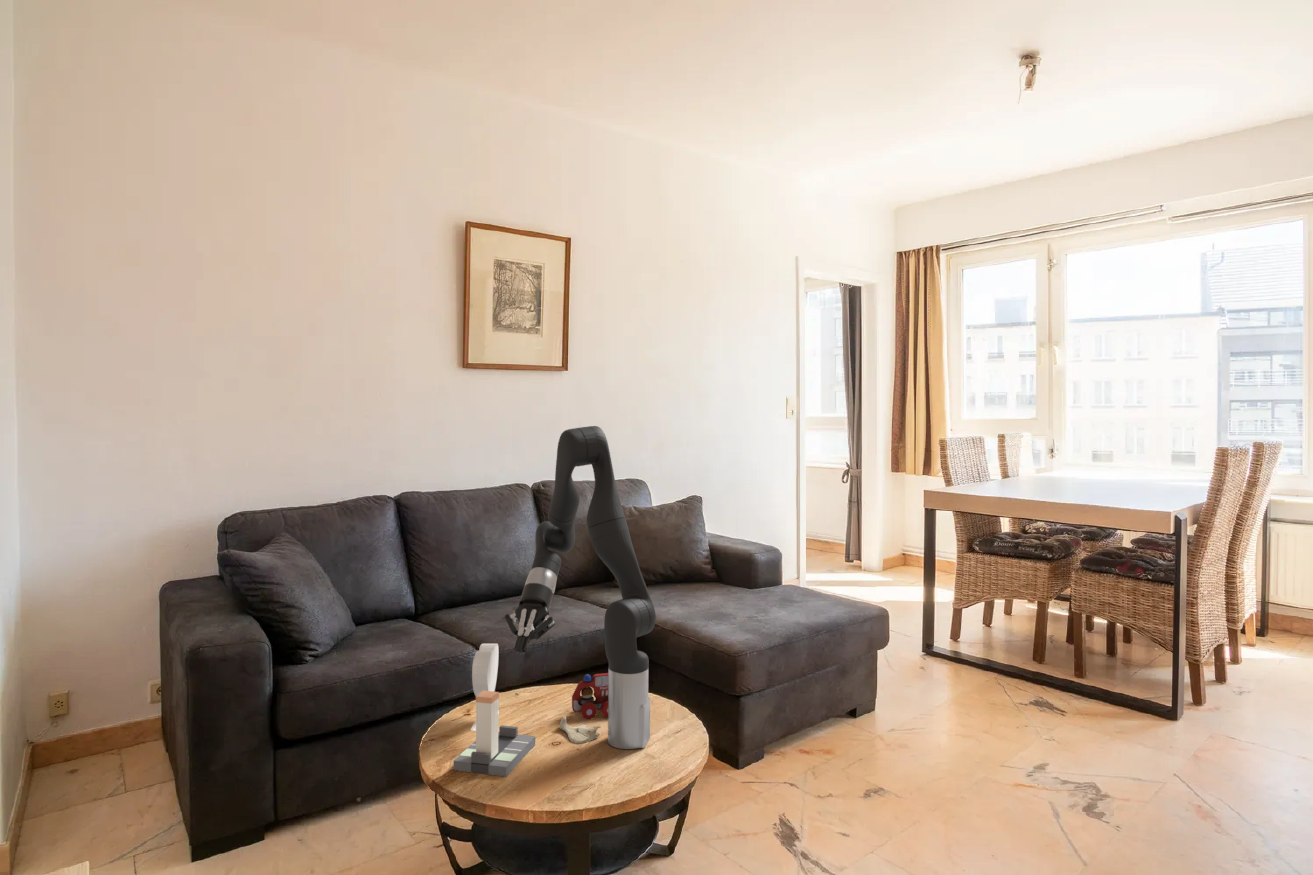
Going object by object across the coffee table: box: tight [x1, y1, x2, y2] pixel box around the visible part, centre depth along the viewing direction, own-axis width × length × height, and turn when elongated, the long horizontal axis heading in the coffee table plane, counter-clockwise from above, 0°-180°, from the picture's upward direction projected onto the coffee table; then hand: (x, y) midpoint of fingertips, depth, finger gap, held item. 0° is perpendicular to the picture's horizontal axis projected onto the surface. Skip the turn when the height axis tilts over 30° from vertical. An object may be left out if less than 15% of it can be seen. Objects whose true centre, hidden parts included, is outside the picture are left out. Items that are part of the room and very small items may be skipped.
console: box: [452, 724, 536, 777], centre depth 169 cm, size 12×16×4 cm
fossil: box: [559, 715, 601, 745], centre depth 182 cm, size 7×11×3 cm, turn 31°
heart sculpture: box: [470, 643, 500, 732], centre depth 189 cm, size 16×5×18 cm, turn 2°
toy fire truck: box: [571, 672, 609, 720], centre depth 194 cm, size 7×12×10 cm, turn 104°
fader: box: [475, 691, 500, 759], centre depth 165 cm, size 4×4×13 cm
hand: (519, 652), depth 181 cm, fingers closed
